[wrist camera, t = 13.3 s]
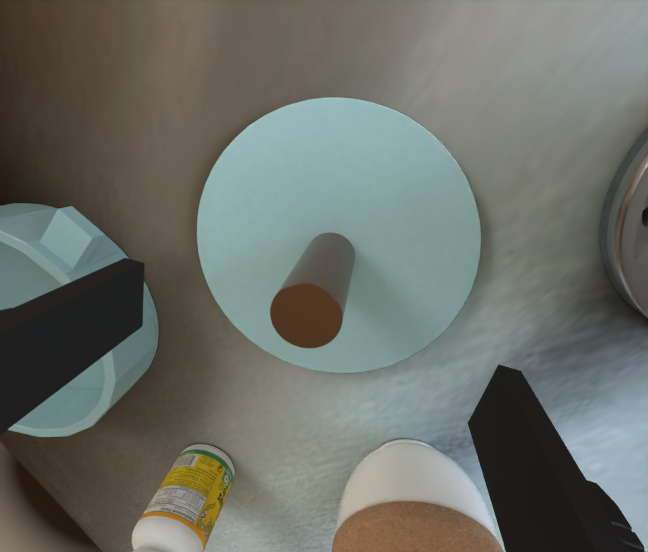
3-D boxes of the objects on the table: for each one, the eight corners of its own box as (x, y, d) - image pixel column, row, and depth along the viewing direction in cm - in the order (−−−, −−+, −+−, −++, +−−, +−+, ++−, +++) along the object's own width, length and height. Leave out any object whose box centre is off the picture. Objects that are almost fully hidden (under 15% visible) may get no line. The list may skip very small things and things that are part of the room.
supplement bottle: (190, 432, 31) (113, 552, 22) (245, 458, 31) (191, 587, 22) (174, 469, 33) (98, 591, 24) (225, 493, 33) (169, 623, 24)
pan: (219, 290, 25) (183, 324, 20) (87, 435, 33) (40, 484, 28) (22, 119, 22) (-71, 114, 18) (-69, 321, 30) (-149, 354, 26)
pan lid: (539, 252, 21) (650, 331, 12) (336, 402, 27) (317, 522, 18) (327, 21, 18) (281, -83, 10) (157, 248, 24) (39, 306, 16)
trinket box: (364, 517, 31) (358, 662, 23) (324, 427, 28) (300, 555, 19) (489, 506, 29) (536, 665, 20) (461, 404, 25) (503, 542, 17)
